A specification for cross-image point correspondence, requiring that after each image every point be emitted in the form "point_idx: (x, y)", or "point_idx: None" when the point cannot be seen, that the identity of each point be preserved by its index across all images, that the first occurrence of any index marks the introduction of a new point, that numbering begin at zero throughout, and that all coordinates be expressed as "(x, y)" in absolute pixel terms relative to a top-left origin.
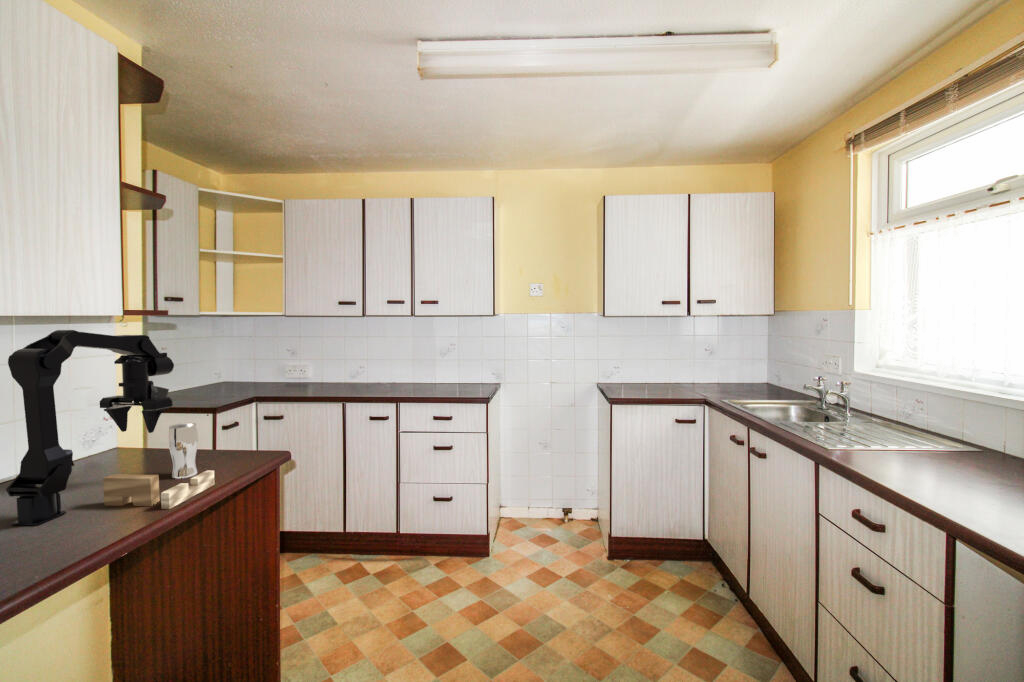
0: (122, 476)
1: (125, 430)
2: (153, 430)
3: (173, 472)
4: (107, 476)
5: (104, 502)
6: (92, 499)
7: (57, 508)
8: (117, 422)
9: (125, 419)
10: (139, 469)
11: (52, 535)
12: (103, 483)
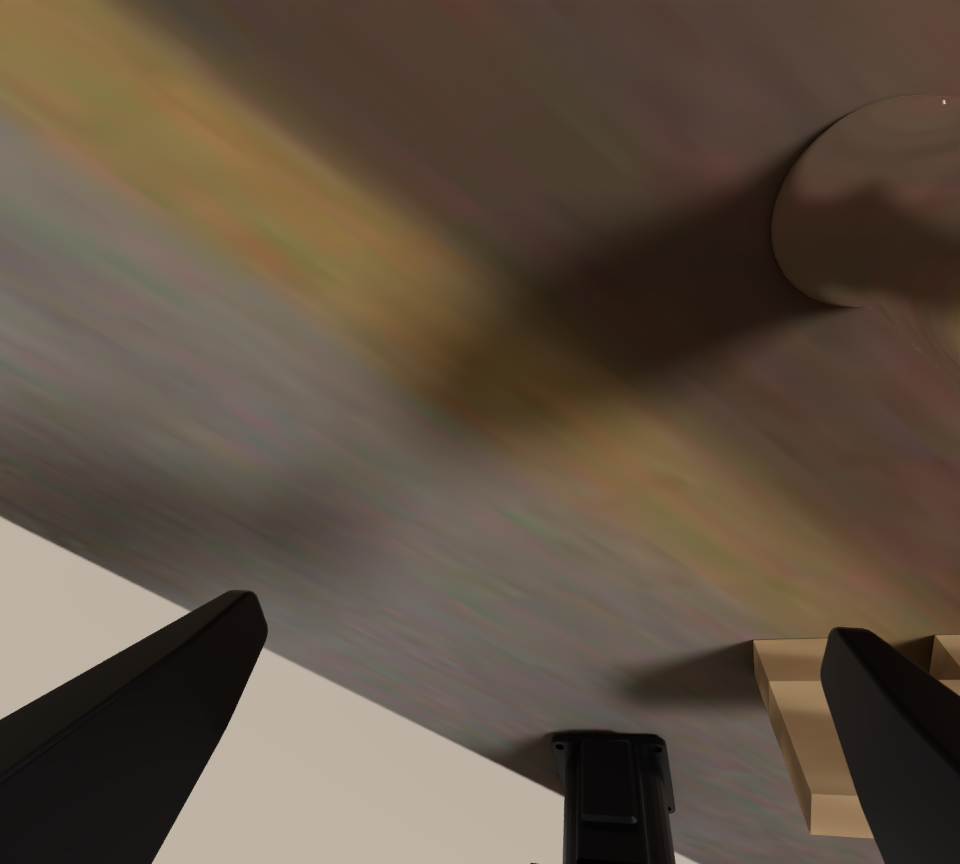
0: None
1: (255, 611)
2: (897, 660)
3: (846, 305)
4: (814, 818)
5: (759, 689)
6: (609, 627)
7: (640, 769)
8: (146, 853)
9: (56, 788)
10: (332, 197)
11: (815, 850)
12: (798, 795)
